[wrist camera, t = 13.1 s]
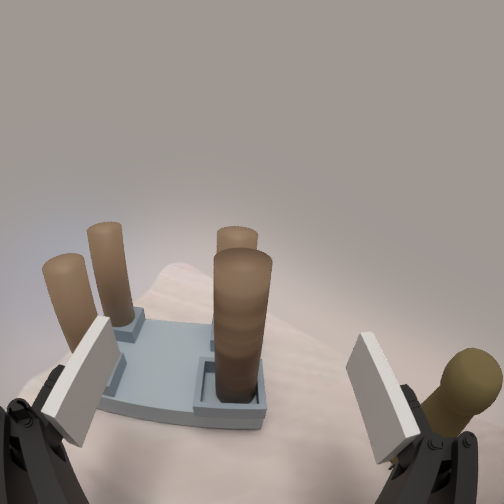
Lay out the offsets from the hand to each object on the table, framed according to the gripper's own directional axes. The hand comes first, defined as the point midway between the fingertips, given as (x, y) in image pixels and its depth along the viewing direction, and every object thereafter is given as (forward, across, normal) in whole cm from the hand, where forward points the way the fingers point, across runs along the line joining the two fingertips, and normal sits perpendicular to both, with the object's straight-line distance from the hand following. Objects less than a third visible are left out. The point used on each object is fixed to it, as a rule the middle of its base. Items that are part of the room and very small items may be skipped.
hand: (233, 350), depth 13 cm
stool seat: (+7, -6, -11) cm, 14 cm away
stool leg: (+4, 0, -9) cm, 9 cm away
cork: (-3, +16, -11) cm, 20 cm away
